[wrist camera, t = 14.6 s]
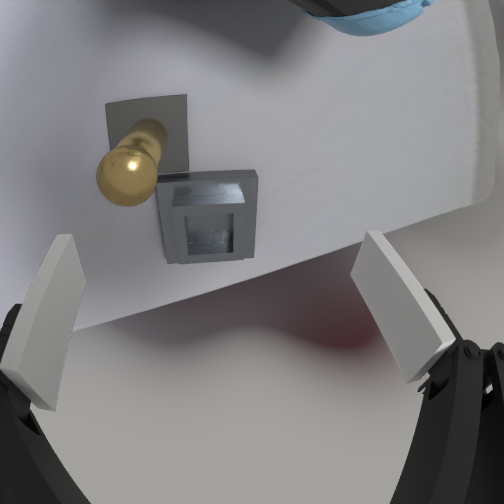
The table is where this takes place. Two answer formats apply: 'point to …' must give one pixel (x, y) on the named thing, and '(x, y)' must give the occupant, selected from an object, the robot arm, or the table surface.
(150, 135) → the brass flared knob
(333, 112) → the table surface
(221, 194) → the housing
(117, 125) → the mat
